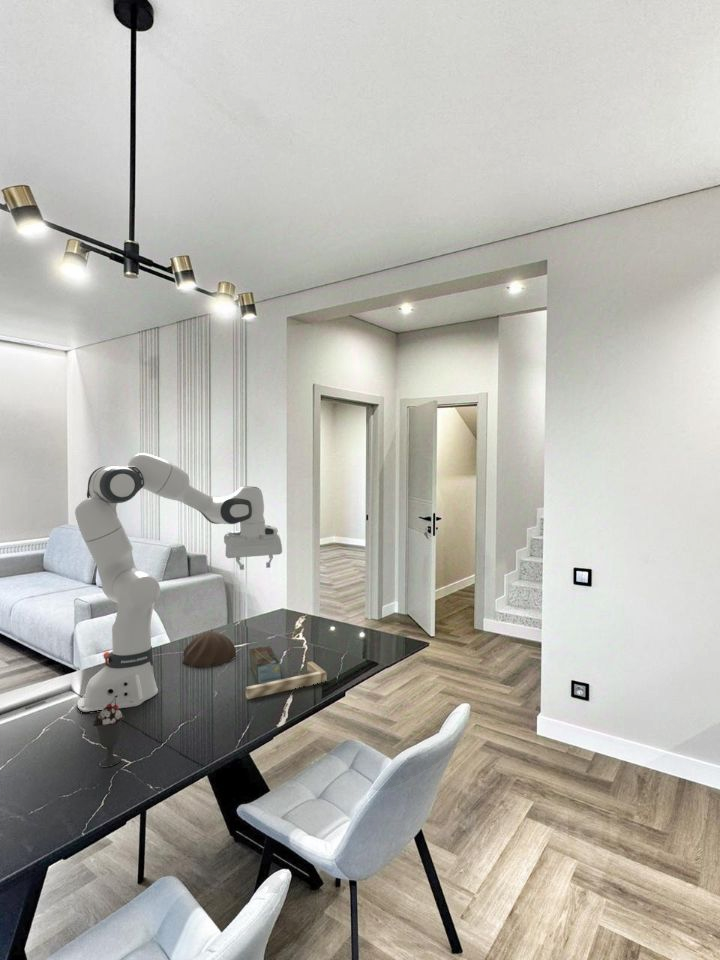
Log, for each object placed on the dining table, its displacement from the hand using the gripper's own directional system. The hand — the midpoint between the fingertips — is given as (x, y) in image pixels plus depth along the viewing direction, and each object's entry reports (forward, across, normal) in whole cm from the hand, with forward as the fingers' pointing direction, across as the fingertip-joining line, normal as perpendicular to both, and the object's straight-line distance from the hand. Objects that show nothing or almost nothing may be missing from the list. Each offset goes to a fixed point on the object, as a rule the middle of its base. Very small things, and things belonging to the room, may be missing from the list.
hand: (255, 568), depth 189 cm
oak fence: (+34, +8, -23) cm, 42 cm away
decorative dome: (+34, -19, +9) cm, 40 cm away
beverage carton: (+34, +2, -12) cm, 36 cm away
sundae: (+32, -32, -63) cm, 78 cm away
